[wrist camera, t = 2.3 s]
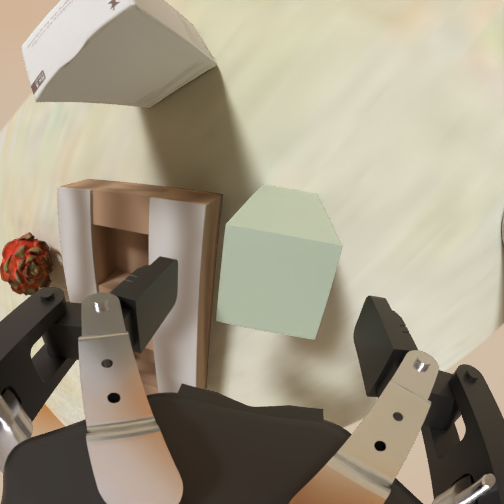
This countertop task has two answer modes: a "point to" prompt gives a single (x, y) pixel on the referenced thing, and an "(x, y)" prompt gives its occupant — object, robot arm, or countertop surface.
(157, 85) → the skincare box
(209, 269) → the block
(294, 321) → the square peg
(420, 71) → the countertop surface
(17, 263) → the dragon fruit
